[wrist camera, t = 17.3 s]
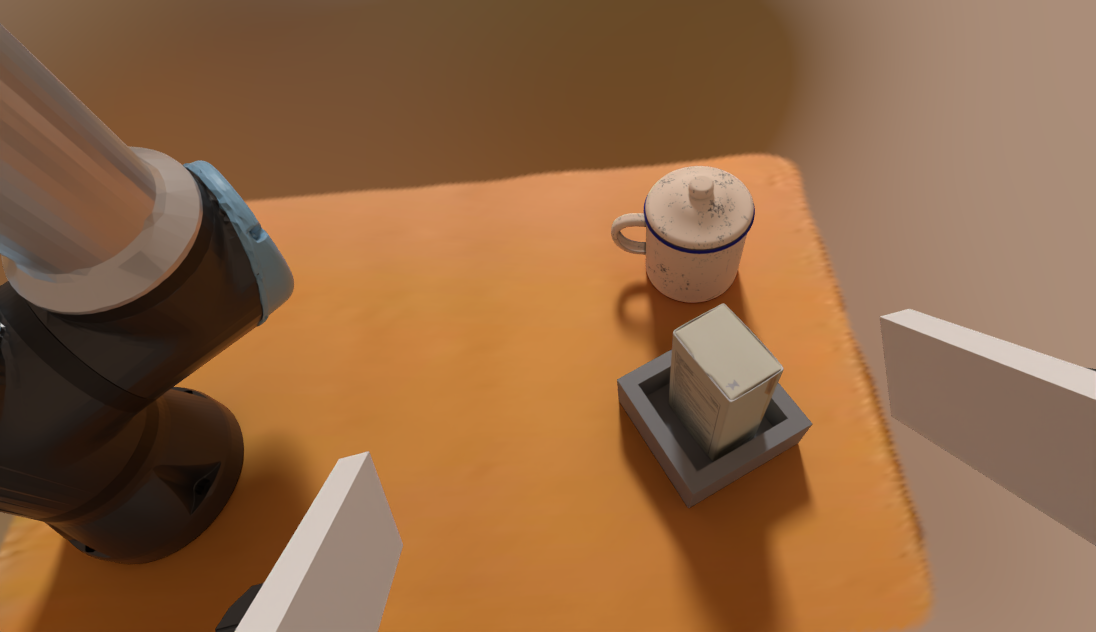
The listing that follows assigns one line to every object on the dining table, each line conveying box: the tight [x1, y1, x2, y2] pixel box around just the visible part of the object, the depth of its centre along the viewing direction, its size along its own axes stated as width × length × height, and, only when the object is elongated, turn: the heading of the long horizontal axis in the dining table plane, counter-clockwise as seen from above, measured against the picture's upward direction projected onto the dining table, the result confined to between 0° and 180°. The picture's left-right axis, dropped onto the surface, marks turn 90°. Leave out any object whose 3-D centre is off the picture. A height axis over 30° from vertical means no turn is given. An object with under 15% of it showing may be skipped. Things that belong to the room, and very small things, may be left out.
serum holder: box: [617, 350, 812, 508], centre depth 47 cm, size 10×10×4 cm
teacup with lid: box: [611, 166, 755, 303], centre depth 52 cm, size 12×9×12 cm
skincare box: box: [669, 303, 783, 461], centre depth 43 cm, size 6×4×12 cm
